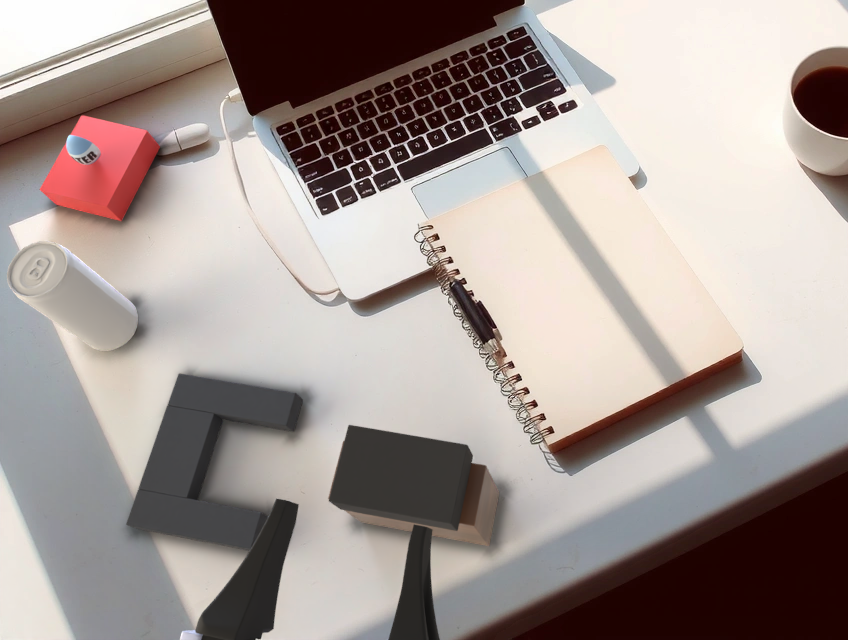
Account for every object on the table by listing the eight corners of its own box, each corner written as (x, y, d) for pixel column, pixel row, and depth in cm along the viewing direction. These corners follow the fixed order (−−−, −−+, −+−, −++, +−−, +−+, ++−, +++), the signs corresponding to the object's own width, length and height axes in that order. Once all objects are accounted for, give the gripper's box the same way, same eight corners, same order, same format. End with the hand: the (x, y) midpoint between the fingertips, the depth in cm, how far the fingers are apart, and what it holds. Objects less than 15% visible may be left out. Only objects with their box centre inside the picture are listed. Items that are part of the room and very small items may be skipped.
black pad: (457, 531, 60) (451, 523, 57) (339, 509, 61) (328, 501, 58) (473, 455, 62) (467, 444, 59) (359, 435, 63) (348, 424, 60)
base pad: (259, 552, 70) (250, 549, 68) (137, 529, 71) (125, 524, 69) (303, 399, 75) (296, 392, 73) (188, 380, 76) (178, 372, 74)
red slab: (121, 221, 83) (86, 186, 77) (56, 204, 84) (16, 169, 79) (160, 146, 86) (129, 108, 80) (96, 131, 87) (61, 92, 82)
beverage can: (75, 342, 78) (-9, 286, 67) (105, 292, 80) (28, 230, 69) (122, 361, 77) (45, 308, 66) (152, 310, 79) (82, 250, 68)
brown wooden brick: (489, 546, 69) (474, 526, 60) (360, 522, 70) (327, 499, 62) (499, 492, 70) (486, 465, 62) (373, 469, 72) (343, 440, 63)
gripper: (416, 849, 41) (476, 533, 45) (113, 776, 43) (200, 480, 47) (441, 815, 47) (491, 542, 52) (177, 754, 49) (248, 496, 54)
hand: (354, 513), depth 50 cm, fingers open, 7 cm apart
